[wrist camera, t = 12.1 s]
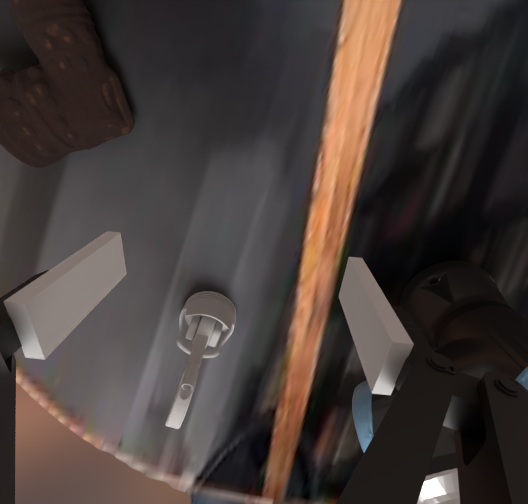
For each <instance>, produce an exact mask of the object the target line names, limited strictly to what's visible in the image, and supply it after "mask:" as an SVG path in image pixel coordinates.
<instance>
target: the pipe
mask: <svg viewBox="0 0 528 504" xmlns="http://www.w3.org/2000/svg"><path fill="white" fill-rule="evenodd" d="M10 13H11V16H12V18H13V20H14V22H15V24H16V25H17V27H18V30H19V32H20V33H21V34H22V35H23V36H24V39H25V41H26V42H27V43H28V45H29V46H30V47H31V49H32V50H33V52H34V53H35V55H36V56H37V58H38V59H39V62H40V64H39V65H35V66H32V67H29V68H27V69H23V70H21V71H19V72H13V71H11V70H10V69H3V70H1V71H0V144H1V145H2V146H3V147H4V148H5V149H6V150H7V151H8V152H9V153H11V154H12V155H13V156H14V157H16V158H17V159H19V160H20V161H22V162H24V163H26V164H27V165H29V166H32V167H40V168H42V167H47V166H49V165H51V164H53V163H55V162H57V161H59V160H60V159H61V158H63V157H64V156H65V155H67V154H69V153H71V152H74V151H79V150H85V149H91V148H93V147H96V146H98V145H100V144H102V143H104V142H106V141H108V140H110V139H113V138H116V137H118V136H121V135H124V134H128V133H130V132H131V131H132V129H133V127H134V123H135V121H134V118H133V115H132V113H131V110H130V108H129V105H128V102H127V100H126V97H125V94H124V92H123V89H122V86H121V83H120V80H119V77H118V76H117V74H116V73H115V72H114V71H113V70H112V69H110V68H109V67H108V65H107V63H106V61H105V58H104V52H103V50H102V42H101V40H100V38H99V36H98V35H97V34H96V33H95V24H94V22H93V21H92V19H91V16H92V15H91V14H90V13H89V11H88V10H87V8H86V6H85V3H84V2H83V0H13V1H12V3H11V7H10Z"/></svg>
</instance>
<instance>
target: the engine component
mask: <svg viewBox="0 0 528 504" xmlns="http://www.w3.org/2000/svg"><path fill="white" fill-rule="evenodd" d="M235 320H236V309H235V306H234V305H233V303H232V302H231V301H230V300H229V299H228V298H227V297H225V296H224V295H222V294H220V293H217V292H213V291H202V292H198V293H196V294H194V295H192V296H191V297H190V298H188V300H187V301H186V303H185V305H184V307H183V310H182V312H181V314H180V318H179V335H178V338H177V344H178V346H179V347H180V348H181V349H182V350H183V351H185V352H186V353H188V354H190V356H189V359H188V362H187V365H186V368H185V370H184V373H183V376H182V379H181V381H180V384H179V387H178V390H177V392H176V395H175V398H174V401H173V403H172V406H171V409H170V412H169V415H168V418H167V421H166V424H165V425H166V426H168V427H172V428H176V429H179V428H180V427H181V424H182V422H183V420H184V417H185V414H186V412H187V409H188V406H189V403H190V400H191V397H192V394H193V391H194V388H195V385H196V382H197V378H198V375H199V371H200V364H201V361H202V358H213V357H216V356H218V355H219V354H220V351H221V348H222V346H223V345H224V343H225V342H226V341H227V339H228V338H229V337H230V336H231V334H232V333H233V330H234V325H235Z"/></svg>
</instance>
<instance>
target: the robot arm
mask: <svg viewBox="0 0 528 504" xmlns="http://www.w3.org/2000/svg"><path fill="white" fill-rule="evenodd" d="M126 274H127V273H126V267H125V260H124V253H123V246H122V240H121V233H118V232H109V231H107V232H105V233H104V234H102V235H101V236H99V237H98V238H96V239H95V240H93V241H92V242H91V243H89V244H88V245H86V246H85V247H83V248H82V249H80V250H79V251H77V252H76V253H74V254H73V255H71V256H70V257H68V258H67V259H65V260H64V261H62V262H61V263H59V264H58V265H56V266H55V267H53V268H52V269H51V270H47V271H44V272H42V273H39V274H37V275H35V276H33V277H32V278H30V279H29V280H27V281H25V283H22V284H21V285H19V286H18V287H17V289H16V288H15V289H13V290H12V291H10V292H9V293H7V294H6V295H4V296H3V297H1V298H0V504H15V405H16V404H15V403H16V400H15V398H16V360H15V357H14V355H13V353H14V352H16V351H17V350H18V349H19V348H20V347H22V349H23V352H24V354H25V357H26V358H35V359H46V358H47V357H48V356H49V355H50V354H51V353H52V352H53V350H54V349H55V348H56V347H57V346H58V345H59V344H60V343H61V342H62V341H63V340H64V339H65V338H66V337H67V336H68V335H69V334H70V333H71V332H72V331H73V330H74V329H75V327H76V326H77V325H78V324H79V323H80V322H81V321H82V320H83V319H84V318H85V317H86V316H87V315H88V314H89V313H90V312H91V311H92V310H93V309H94V308H95V307H96V306H97V304H98V303H99V302H100V301H101V300H102V299H103V298H104V297H105V296H106V295H107V294H108V293H109V292H110V291H111V290H112V289H113V288H114V287H115V286H116V285H117V284H118V282H119V281H120V280H121V279H122V278H123V277H124V276H125V275H126ZM339 299H340V302H341V305H342V308H343V311H344V314H345V317H346V319H347V322H348V325H349V328H350V331H351V334H352V337H353V340H354V343H355V346H356V349H357V352H358V355H359V358H360V361H361V364H362V366H363V369H364V372H365V375H366V378H367V380H366V381H364V382H362V383H360V384H359V385H358V386H357V387H356V388H355V390H354V393H353V398H352V410H353V418H354V423H355V427H356V431H357V435H358V438H359V441H360V444H361V447H362V450H363V452H364V454H363V456H362V458H361V460H360V462H359V463H358V465H357V467H356V469H355V471H354V472H353V474H352V476H351V478H350V480H349V481H348V483H347V485H346V487H345V489H344V490H343V492H342V494H341V496H340V498H339V499H338V501H337V503H336V504H528V321H527V320H526V319H524V318H523V317H522V316H521V315H519V314H518V313H517V312H516V311H515V310H513V309H512V308H511V307H510V306H509V305H508V304H507V302H506V301H505V299H504V298H503V296H502V294H501V293H500V291H499V288H498V286H497V284H496V282H495V280H494V279H493V278H492V277H491V276H490V275H489V274H488V273H487V272H486V271H484V270H483V269H482V268H480V267H479V266H477V265H476V264H473V263H471V262H467V261H460V260H453V261H445V262H441V263H437V264H434V265H432V266H429V267H427V268H425V269H424V270H422V271H421V272H419V273H418V274H416V275H415V276H414V277H413V278H412V279H411V280H410V281H409V282H408V283H407V285H406V286H405V288H404V290H403V292H402V294H401V297H400V306H393V305H390V304H389V302H388V300H387V299H386V297H385V295H384V294H383V292H382V290H381V289H380V287H379V285H378V284H377V282H376V280H375V279H374V277H373V275H372V274H371V272H370V270H369V269H368V267H367V265H366V264H365V262H364V260H363V259H362V258H356V257H349V259H348V263H347V266H346V270H345V274H344V278H343V282H342V285H341V289H340V293H339ZM427 340H428V341H429V342H430V343H432V344H433V345H435V346H436V348H437V349H438V350H436V351H433V350H432V348H431V347H430V345H429V343H428V342H427Z"/></svg>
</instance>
